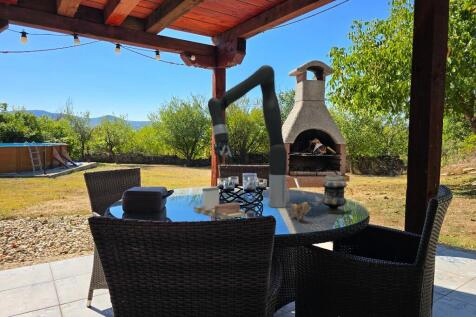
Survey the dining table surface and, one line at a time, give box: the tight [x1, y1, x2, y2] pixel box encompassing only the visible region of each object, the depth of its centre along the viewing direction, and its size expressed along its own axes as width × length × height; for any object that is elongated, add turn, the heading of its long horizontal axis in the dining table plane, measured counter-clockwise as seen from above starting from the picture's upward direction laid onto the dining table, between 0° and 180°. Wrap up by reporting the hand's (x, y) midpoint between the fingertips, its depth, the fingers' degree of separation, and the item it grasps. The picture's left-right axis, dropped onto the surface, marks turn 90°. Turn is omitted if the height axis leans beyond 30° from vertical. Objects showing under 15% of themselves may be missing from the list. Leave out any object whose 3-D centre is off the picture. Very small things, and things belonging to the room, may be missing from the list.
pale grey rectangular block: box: [201, 186, 220, 209], centre depth 168 cm, size 3×8×10 cm, turn 132°
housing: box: [193, 201, 246, 220], centre depth 164 cm, size 24×12×6 cm, turn 43°
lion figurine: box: [288, 201, 312, 223], centre depth 152 cm, size 15×5×9 cm, turn 25°
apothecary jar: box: [320, 174, 348, 215], centre depth 169 cm, size 12×12×18 cm
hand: (226, 163), depth 178 cm, fingers open, 8 cm apart
